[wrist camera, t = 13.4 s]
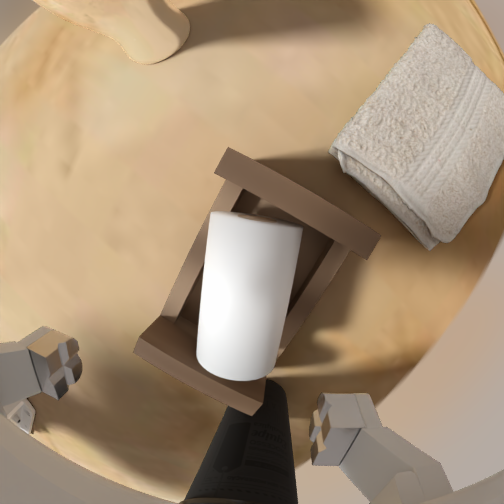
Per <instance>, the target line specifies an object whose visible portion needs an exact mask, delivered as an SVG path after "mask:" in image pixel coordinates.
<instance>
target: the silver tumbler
mask: <svg viewBox="0 0 504 504" xmlns="http://www.w3.org/2000/svg"><path fill="white" fill-rule="evenodd" d="M33 1H34V2H36V3H37V4H38V5H40V6H41V7H43V8H44V9H46V10H47V11H49V12H51V13H52V14H54V15H56V16H58V17H60V18H62V19H63V20H65V21H68V22H70V23H73V24H75V25H77V26H80V27H83V28H86V29H88V30H91V31H94V32H96V33H99V34H102V35H104V36H106V37H109V38H111V39H112V40H114V41H116V42H117V43H118V44H119V45H120V46H121V47H122V49H123V50H124V52H125V53H126V55H127V56H128V57H129V58H130V59H131V60H132V61H134V62H136V63H139V64H153V63H157V62H160V61H162V60H164V59H166V58H168V57H170V56H171V55H173V54H174V53H175V52H176V51H178V50H179V49H180V48H181V47H182V45H183V44H184V43H185V41H186V40H187V38H188V35H189V32H190V23H189V20H188V18H187V17H186V16H185V15H184V14H183V13H182V12H181V11H180V10H179V9H178V8H176V7H175V6H174V5H173V4H172V3H171V1H170V0H33Z"/></svg>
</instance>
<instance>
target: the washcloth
mask: <svg viewBox="0 0 504 504" xmlns="http://www.w3.org/2000/svg"><path fill="white" fill-rule="evenodd" d="M328 153H329V154H331V155H333V156H334V157H335V158H336V159H338V160H339V161H340V165H341V168H342V170H343V173H345V172H346V173H347V174H349V175H350V176H351V177H353V178H354V179H355V180H356V182H358V183H359V184H360V185H361V186H362V187H363V188H364V189H366V190H367V191H368V193H370V194H371V195H372V196H373V197H375V198H376V199H377V200H378V201H380V202H381V203H382V204H383V205H384V206H385V207H386V208H387V209H388V210H389V211H390V212H391V213H392V214H393V215H394V216H395V217H396V218H397V219H398V220H399V221H400V222H401V223H402V224H403V225H404V226H405V227H406V228H407V229H408V230H409V232H410V233H411V234H412V235H413V236H414V237H415V238H416V239H417V240H418V241H419V242H420V243H421V244H422V245H423V246H424V247H425V248H426V249H427V250H429V251H431V250H432V248H433V247H434V246H436V245H437V244H438V243H439V242H440V241H442V242H443V243H449V242H450V241H452V240H453V239H454V238H455V236H456V235H457V234H458V233H459V232H460V230H461V228H462V227H463V226H464V224H465V223H466V222H467V220H468V218H469V217H470V216H471V215H472V214H473V212H474V211H475V210H476V208H478V207H479V206H480V205H482V204H483V203H484V201H485V200H486V197H487V194H488V190H489V188H490V186H491V184H492V182H493V180H494V177H495V175H496V173H497V171H498V169H499V167H500V165H501V164H502V161H503V160H504V94H503V92H502V91H501V90H500V89H499V88H498V87H497V85H496V84H494V83H493V82H492V81H490V79H489V78H488V77H486V75H485V74H484V73H483V72H482V71H481V70H480V69H479V68H478V67H477V66H475V65H474V63H473V62H472V59H471V57H470V56H468V55H467V53H465V51H464V50H463V49H462V48H461V47H460V46H459V45H458V44H457V43H455V42H454V41H453V40H452V39H451V38H450V37H449V36H448V35H447V34H445V33H444V32H443V31H442V30H440V29H439V28H438V27H437V26H436V25H434V24H430V23H429V24H427V25H425V26H424V28H423V30H422V32H420V34H419V35H418V37H415V40H414V42H413V43H412V44H411V45H410V46H409V48H408V51H407V52H406V53H404V55H403V56H402V57H401V59H400V60H399V61H398V62H397V63H395V64H394V67H393V68H392V69H391V70H390V71H389V74H387V75H386V77H385V79H384V80H382V81H381V82H380V84H379V85H378V87H377V88H376V90H375V91H374V93H373V94H372V95H371V96H370V97H368V98H367V100H366V102H365V103H364V105H361V107H360V109H358V112H357V113H356V114H355V116H353V117H352V118H351V119H350V120H349V122H347V123H346V124H345V126H344V128H343V129H342V130H341V131H340V133H338V136H337V137H336V138H335V140H334V142H333V143H332V145H331V148H330V149H329V151H328Z"/></svg>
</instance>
